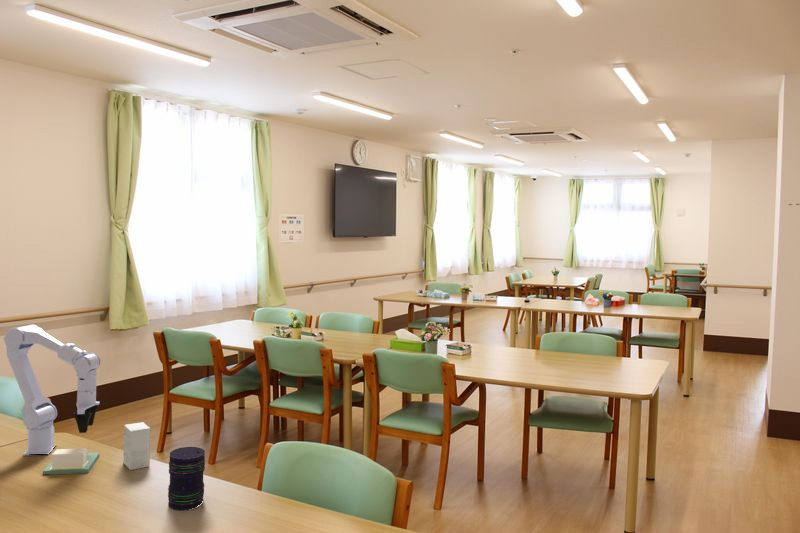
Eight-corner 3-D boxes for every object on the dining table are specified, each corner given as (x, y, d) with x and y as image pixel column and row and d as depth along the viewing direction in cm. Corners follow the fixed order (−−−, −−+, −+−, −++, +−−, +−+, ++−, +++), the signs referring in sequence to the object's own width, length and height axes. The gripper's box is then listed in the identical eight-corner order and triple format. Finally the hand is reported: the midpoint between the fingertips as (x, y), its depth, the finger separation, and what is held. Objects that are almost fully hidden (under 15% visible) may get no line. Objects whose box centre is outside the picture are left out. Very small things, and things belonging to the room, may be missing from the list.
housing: (56, 463, 198) (56, 449, 198) (86, 461, 200) (86, 448, 200) (51, 468, 194) (52, 454, 193) (82, 467, 196) (83, 453, 196)
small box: (149, 466, 202) (150, 428, 201) (129, 470, 198) (130, 431, 197) (142, 459, 208) (143, 421, 208) (122, 462, 204) (123, 424, 204)
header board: (57, 457, 206) (57, 446, 206) (99, 455, 209) (99, 445, 209) (42, 474, 192) (42, 462, 191) (87, 472, 195) (88, 461, 194)
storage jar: (165, 512, 171) (167, 459, 170) (169, 497, 180) (170, 447, 179) (203, 509, 173) (204, 457, 172) (204, 494, 183) (206, 445, 182)
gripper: (94, 395, 201) (93, 435, 202) (104, 384, 216) (103, 422, 216) (70, 395, 200) (70, 436, 200) (82, 384, 214) (82, 422, 215)
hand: (86, 428), depth 208 cm, fingers open, 7 cm apart
